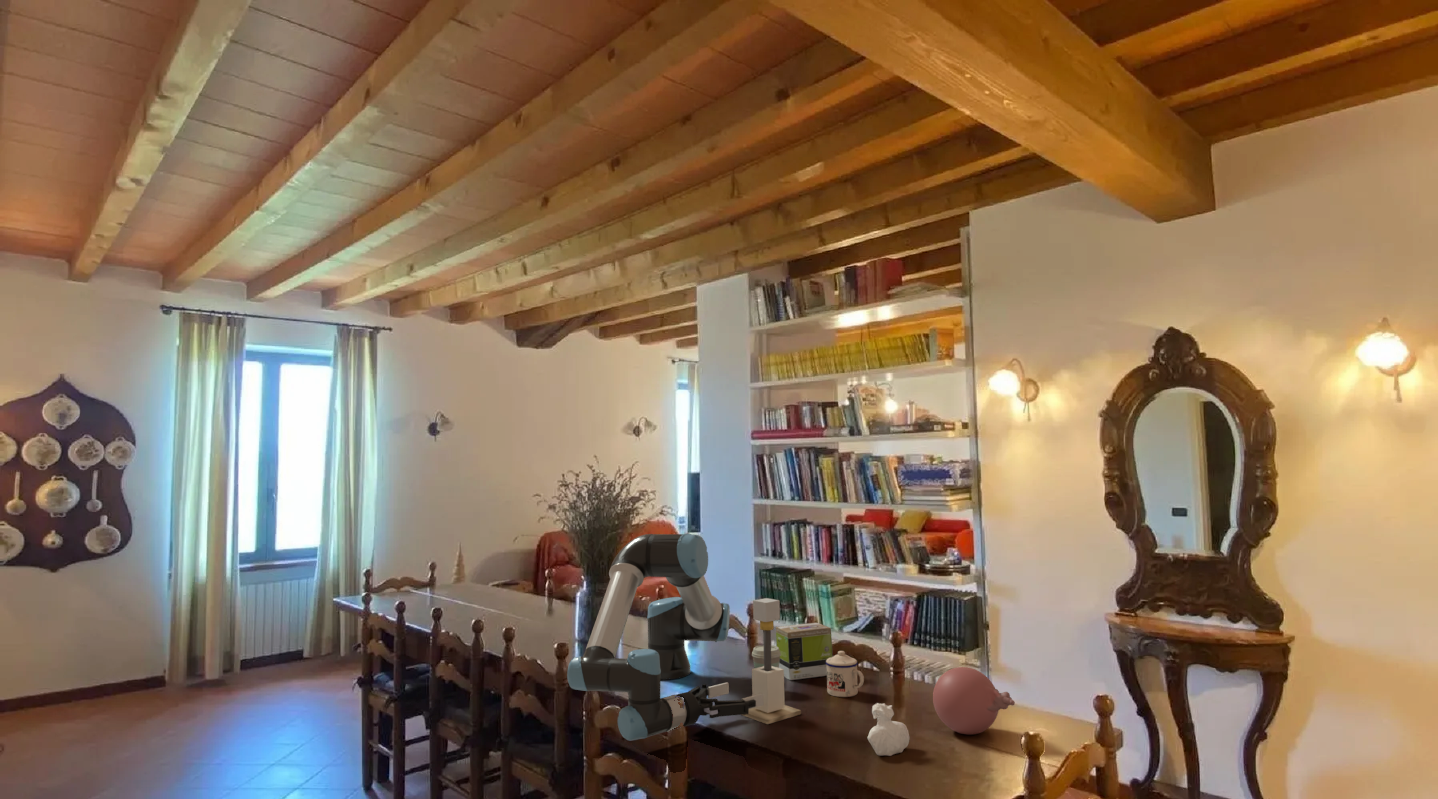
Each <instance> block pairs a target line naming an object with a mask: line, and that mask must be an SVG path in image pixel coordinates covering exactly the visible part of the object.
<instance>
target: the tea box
mask: <svg viewBox="0 0 1438 799" xmlns="http://www.w3.org/2000/svg"><path fill="white" fill-rule="evenodd" d="M775 638H776V647H778V648H779V651H780V654H781V656H780V660H779V668H781V669H784V679H787V680H788V681H794V680H802V679H803V680H804V679H811V678H819V677H827V664H826V660H827V659H828V658H831V657H833V656H834V655H833V642H832V628H831V627H829V626H826V625H824V624H821V623H819V622H810V623H799V624H792V625H791V624H789V625H781V626H776V627H775Z"/></svg>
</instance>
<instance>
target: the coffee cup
mask: <svg viewBox="0 0 1438 799" xmlns="http://www.w3.org/2000/svg"><path fill="white" fill-rule="evenodd" d="M751 656H752V660H753V667H754V668H758V667H763V666H764V646H763V645H756V646H755V647H753V650H752V652H751ZM780 656H781V654H780V651H779V648H778V647H777V645H771V666H773V667H777V668H779V660H780ZM754 668H753V669H754Z"/></svg>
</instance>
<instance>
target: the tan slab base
mask: <svg viewBox="0 0 1438 799" xmlns="http://www.w3.org/2000/svg"><path fill="white" fill-rule="evenodd" d="M800 715H802V710H801V709H798V708H795V707H792V706H789V705H786V704H785V708H783V709H780V710H776V711H773V712H770V713H767V712H764V711H761V710H758V709H755V708H752V709H749V714H746V715H743V714H742V715H741V716H743V717H746V718H748V719H752V720H755V721H757V722H760V723H763V724H766V725H769V724H773V723H776V722H780V721H783V720H786V719H787V720H788V719H790V718H793V717H796V716H800Z"/></svg>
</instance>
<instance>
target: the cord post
mask: <svg viewBox="0 0 1438 799" xmlns="http://www.w3.org/2000/svg"><path fill="white" fill-rule="evenodd" d="M780 602H781V601H780V600H779V599H774V598H769V597H765V598H761V599H753V601H752V610H753V612H752V614H753V615H752V616H753V620H755V621H759V629H760V630H761V631H762V634H763V635H762V638H763V640H762V641H763V642H762V643H763V646H764V670H765V671H771V670H772V667H771V646H772V637H771V634H772V633H771V631H774V628H775V627H774V626H775V625H774V621H779V620H781V612H780V611H781V610H780V609H781V608H780V606H781V605H780Z"/></svg>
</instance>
